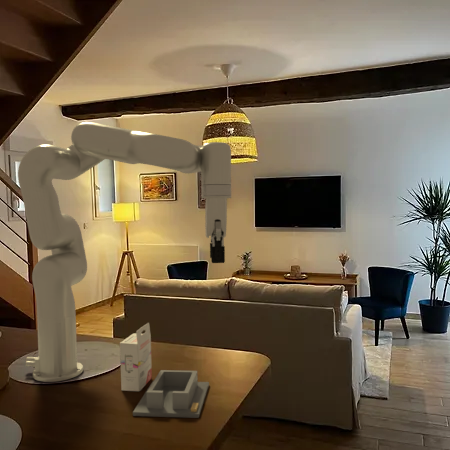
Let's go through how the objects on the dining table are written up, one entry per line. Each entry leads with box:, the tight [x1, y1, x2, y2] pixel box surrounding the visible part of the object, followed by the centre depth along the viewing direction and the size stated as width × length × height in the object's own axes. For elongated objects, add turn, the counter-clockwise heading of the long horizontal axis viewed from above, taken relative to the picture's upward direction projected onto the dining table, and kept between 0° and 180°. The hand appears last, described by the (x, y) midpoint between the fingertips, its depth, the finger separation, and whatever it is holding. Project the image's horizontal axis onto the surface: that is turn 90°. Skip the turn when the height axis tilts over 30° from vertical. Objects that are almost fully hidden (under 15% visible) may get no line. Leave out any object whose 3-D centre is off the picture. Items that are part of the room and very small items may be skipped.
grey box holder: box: [132, 369, 210, 419], centre depth 103 cm, size 14×17×4 cm
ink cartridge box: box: [119, 322, 153, 392], centre depth 112 cm, size 9×5×15 cm, turn 168°
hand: (217, 260), depth 114 cm, fingers open, 9 cm apart
